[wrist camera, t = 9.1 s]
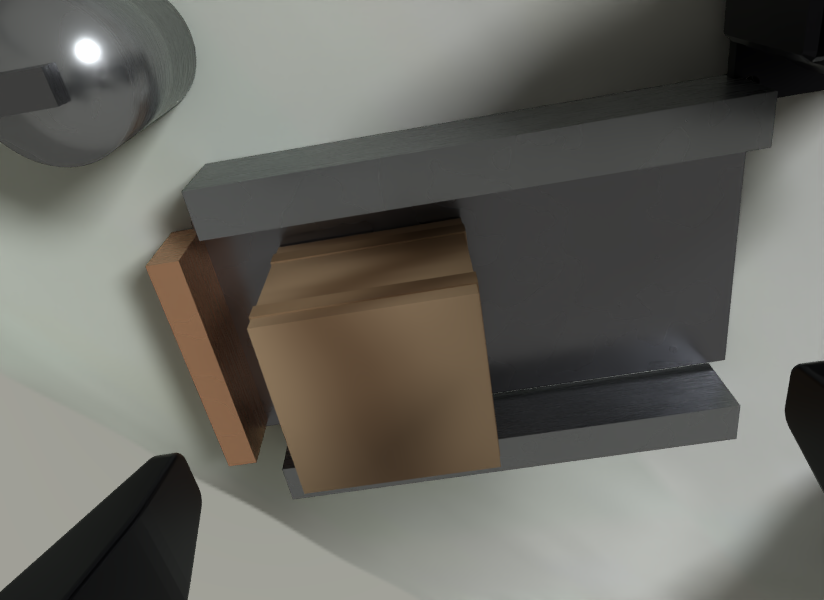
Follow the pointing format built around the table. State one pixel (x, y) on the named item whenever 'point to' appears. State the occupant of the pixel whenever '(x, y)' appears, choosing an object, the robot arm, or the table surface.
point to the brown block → (378, 357)
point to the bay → (432, 202)
